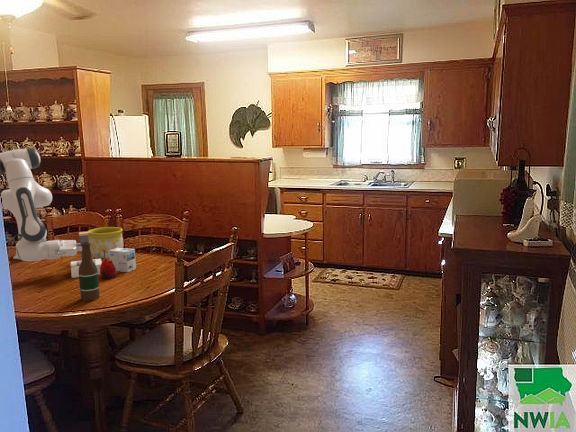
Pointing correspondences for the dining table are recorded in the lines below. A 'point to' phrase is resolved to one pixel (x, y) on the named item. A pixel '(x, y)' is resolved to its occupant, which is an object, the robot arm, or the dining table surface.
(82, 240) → the plug
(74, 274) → the socket block
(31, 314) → the dining table surface
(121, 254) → the light bulb box
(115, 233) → the flowerpot
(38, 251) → the robot arm
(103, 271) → the red clay folk toy
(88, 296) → the beer bottle
